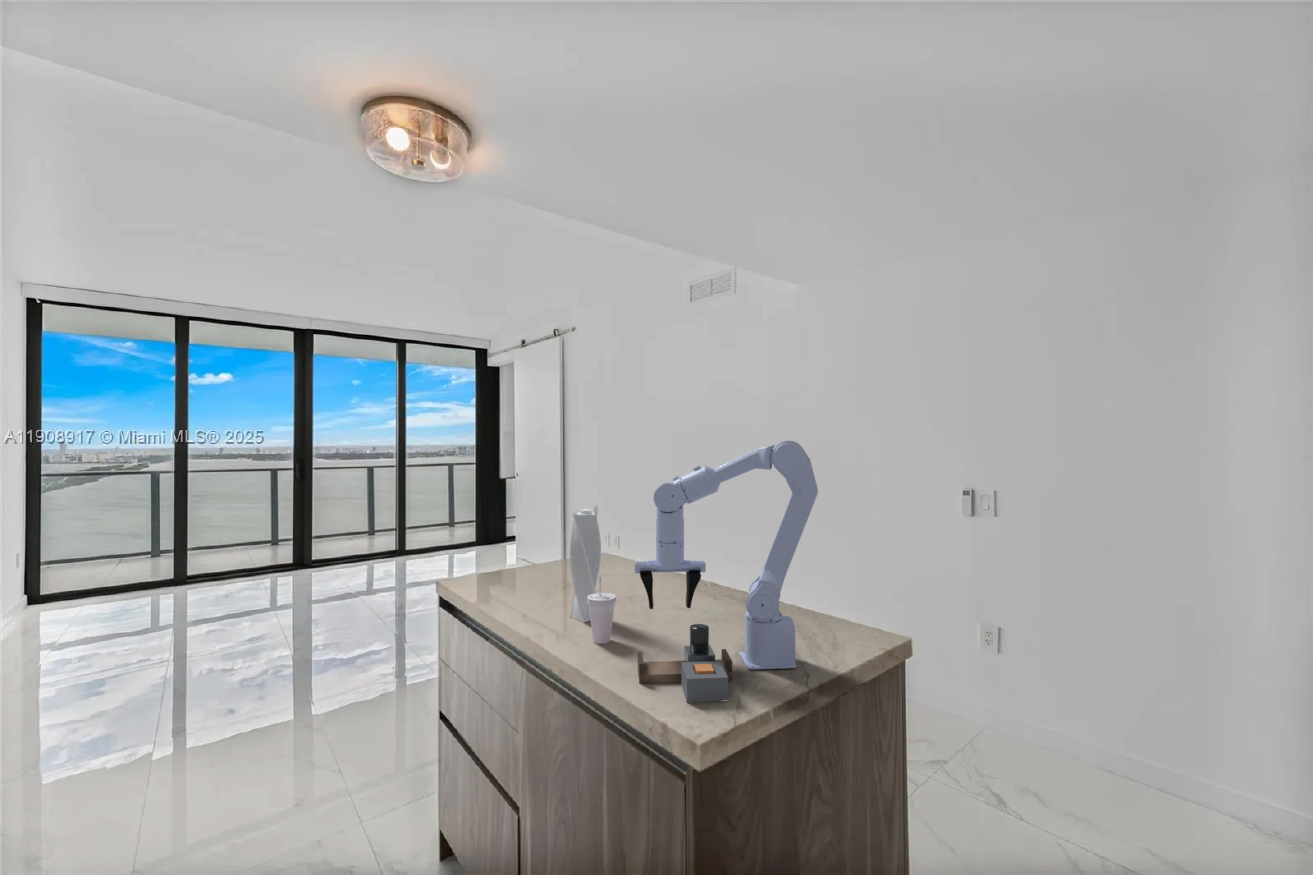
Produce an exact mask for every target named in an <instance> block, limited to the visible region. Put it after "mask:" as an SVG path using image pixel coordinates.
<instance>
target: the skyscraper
mask: <svg viewBox="0 0 1313 875" xmlns="http://www.w3.org/2000/svg"><path fill="white" fill-rule="evenodd" d="M593 509H594V510H592V509H590V508H585V509H584V508H583V509H580V511H579V512H578V510H577V509H575V510H573V512H572V516H573V517H572V518H573V521H572V522H573V523H572V528H571V536H570V541H569V542H570V543H569V545H570V546H569V559H570V560H569V562H570V571H571V579H572V582H573V583H572V584H573V589H574V594H573V600H572V604H571V610H570V615H569V617H570V618H571V619H574V618H575V619H574V620H576V619H577V621H580V622H582V623H587V622H591V619H590V611H589V603H588V602H587V596H588V595H590V594H594V593H597V592H596V587H597V583H598V582H597V581H598V579H599V572H600V566H601V561H602V560H601V559H602V558H601V556H602V542H601V533H600V526H599V522H598V521H599V520H598V513H599V507H598V504H596V503H595V504H594V507H593Z"/></svg>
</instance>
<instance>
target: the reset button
mask: <svg viewBox="0 0 1313 875" xmlns="http://www.w3.org/2000/svg"><path fill="white" fill-rule="evenodd" d="M694 672H695V674H714V669H713V667H712V665H711V664H694Z"/></svg>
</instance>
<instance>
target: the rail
mask: <svg viewBox="0 0 1313 875" xmlns="http://www.w3.org/2000/svg"><path fill="white" fill-rule="evenodd" d="M715 661H720V662H721V664H722V666H723V668H724V670H725V672H726V674H727V676H728V682H729V681H733V660H732V658H731V656H730V654H729V652H728V651H727V649H726V648H722V649H721V659H715ZM682 662H685V661H684V660H661V661H659V660H658V661H656V660H655V661H644V657H643V651H641V650H640V651H637V675H638V683H639V684H661V683H662V684H663V683H664V684H666V683H681V663H682Z"/></svg>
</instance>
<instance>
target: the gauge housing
mask: <svg viewBox="0 0 1313 875" xmlns="http://www.w3.org/2000/svg"><path fill="white" fill-rule="evenodd" d="M694 664H711V665H712V667H713V669H714V674H695V672H694ZM680 683H681V688H682V691H683V694H684V698H685V701H686V703H687V704H688V703H712V702H713V703H715V702H714V701H721V702H725V701H724V700H728V701H729V681H728V676H727V674H726V672H725V670H724V668H723V666H722V664H721V662H720V661H707V662H682V663H681V682H680ZM722 700H723V701H722Z"/></svg>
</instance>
